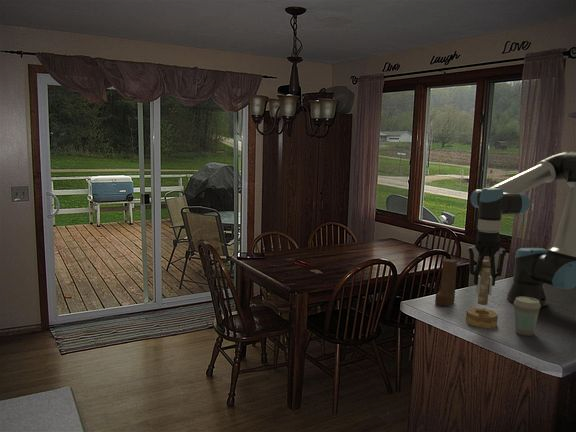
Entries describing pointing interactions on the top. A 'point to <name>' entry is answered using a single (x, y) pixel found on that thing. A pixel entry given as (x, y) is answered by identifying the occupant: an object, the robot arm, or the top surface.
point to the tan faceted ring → (481, 317)
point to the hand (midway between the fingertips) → (483, 293)
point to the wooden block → (447, 283)
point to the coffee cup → (526, 315)
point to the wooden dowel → (484, 282)
